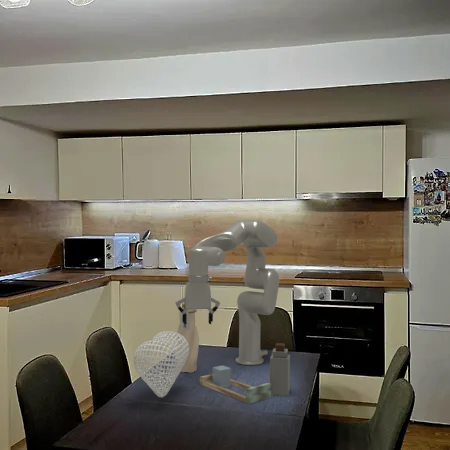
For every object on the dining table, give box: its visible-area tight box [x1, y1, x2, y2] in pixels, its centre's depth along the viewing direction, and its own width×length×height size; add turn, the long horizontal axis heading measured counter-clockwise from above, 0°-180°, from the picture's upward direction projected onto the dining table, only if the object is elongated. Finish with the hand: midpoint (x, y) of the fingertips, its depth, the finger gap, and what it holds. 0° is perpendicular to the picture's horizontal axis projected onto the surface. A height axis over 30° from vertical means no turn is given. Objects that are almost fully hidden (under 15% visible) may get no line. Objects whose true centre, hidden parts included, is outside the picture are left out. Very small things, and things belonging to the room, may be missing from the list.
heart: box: [133, 330, 189, 398], centre depth 198 cm, size 28×16×22 cm, turn 168°
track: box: [199, 373, 272, 405], centre depth 206 cm, size 11×28×5 cm, turn 40°
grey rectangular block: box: [211, 365, 232, 389], centre depth 212 cm, size 5×5×7 cm
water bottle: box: [177, 303, 200, 374], centre depth 232 cm, size 10×9×28 cm
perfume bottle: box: [269, 342, 291, 397], centre depth 205 cm, size 7×7×18 cm
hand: (197, 323), depth 214 cm, fingers open, 9 cm apart
